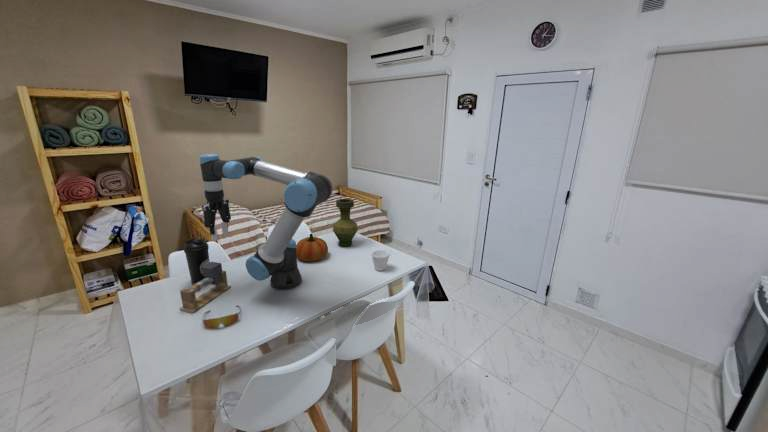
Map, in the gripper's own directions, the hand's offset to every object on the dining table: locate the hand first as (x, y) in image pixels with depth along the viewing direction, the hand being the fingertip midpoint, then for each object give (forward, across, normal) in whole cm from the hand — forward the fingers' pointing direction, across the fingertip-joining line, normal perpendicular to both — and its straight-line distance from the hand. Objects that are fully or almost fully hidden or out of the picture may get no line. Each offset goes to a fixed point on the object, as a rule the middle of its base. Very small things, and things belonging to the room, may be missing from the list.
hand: (220, 237), depth 145 cm
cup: (+25, -40, +67) cm, 82 cm away
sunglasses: (+26, +22, +17) cm, 38 cm away
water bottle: (+25, +2, -13) cm, 28 cm away
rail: (+25, +12, 0) cm, 28 cm away
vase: (+25, -66, +36) cm, 79 cm away
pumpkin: (+25, -42, +24) cm, 55 cm away
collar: (+20, +8, 0) cm, 21 cm away
